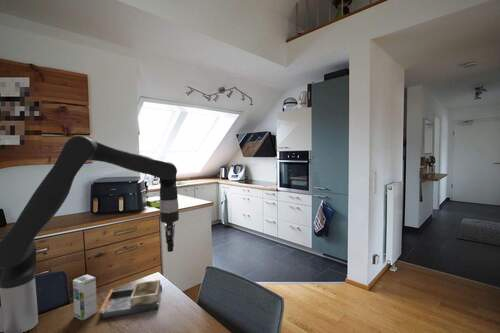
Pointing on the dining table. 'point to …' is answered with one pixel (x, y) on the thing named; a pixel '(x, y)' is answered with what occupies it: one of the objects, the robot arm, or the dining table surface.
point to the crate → (145, 293)
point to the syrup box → (84, 296)
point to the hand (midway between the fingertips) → (170, 249)
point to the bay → (123, 304)
